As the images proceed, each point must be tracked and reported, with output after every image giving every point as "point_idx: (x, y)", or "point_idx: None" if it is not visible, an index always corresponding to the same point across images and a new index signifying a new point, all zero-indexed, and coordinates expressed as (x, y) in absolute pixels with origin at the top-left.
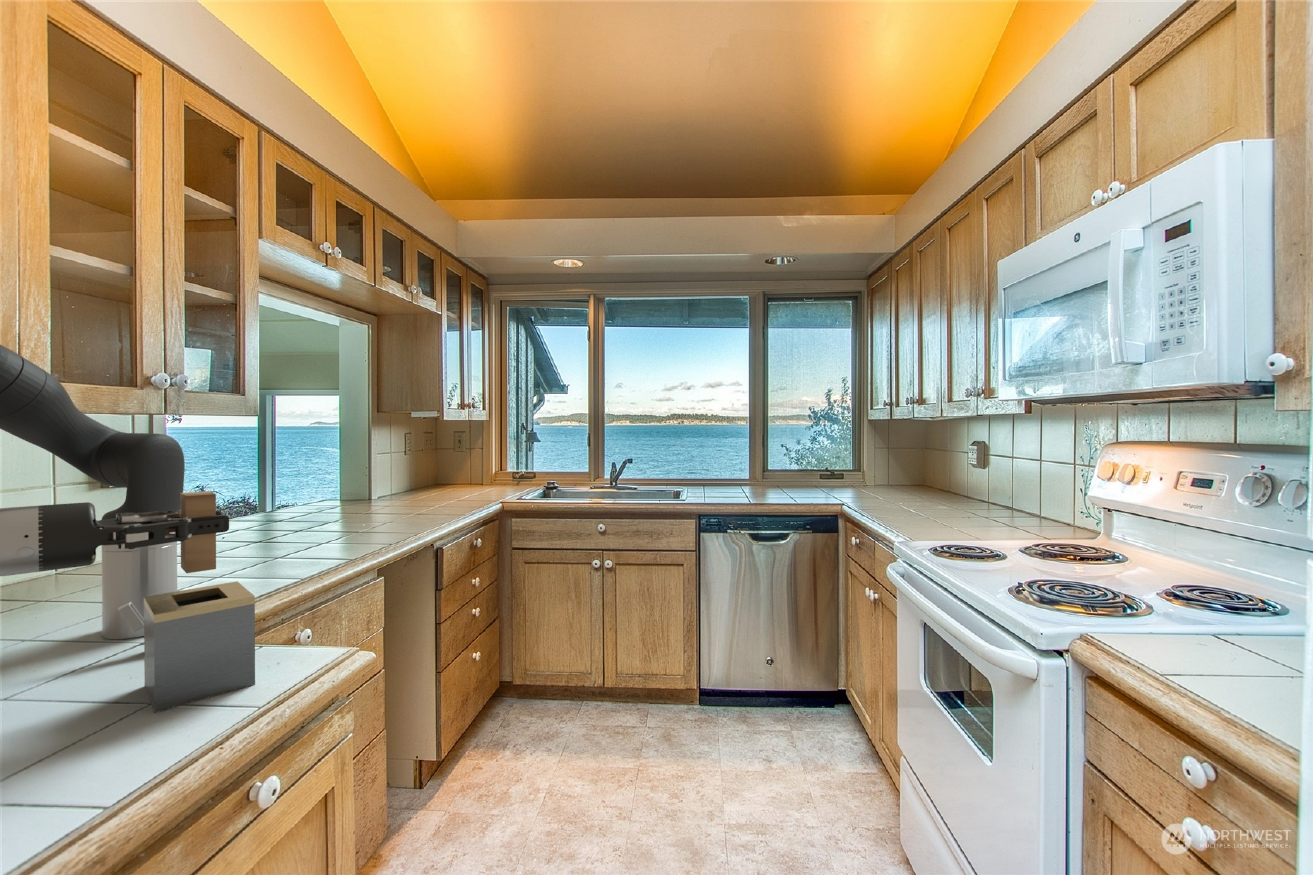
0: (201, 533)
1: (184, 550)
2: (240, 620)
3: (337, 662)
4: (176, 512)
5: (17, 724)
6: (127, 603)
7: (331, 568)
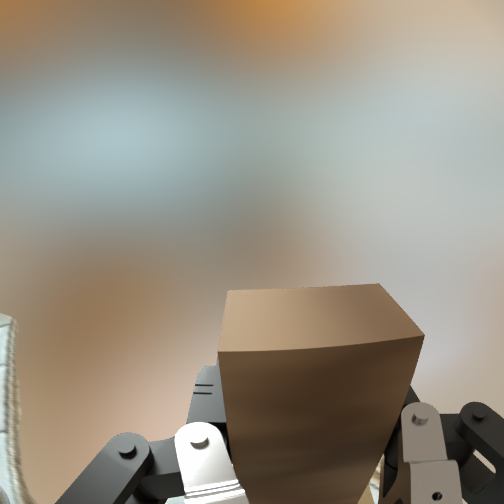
0: None
1: (325, 499)
2: None
3: None
4: (202, 443)
5: None
6: None
7: (9, 341)
